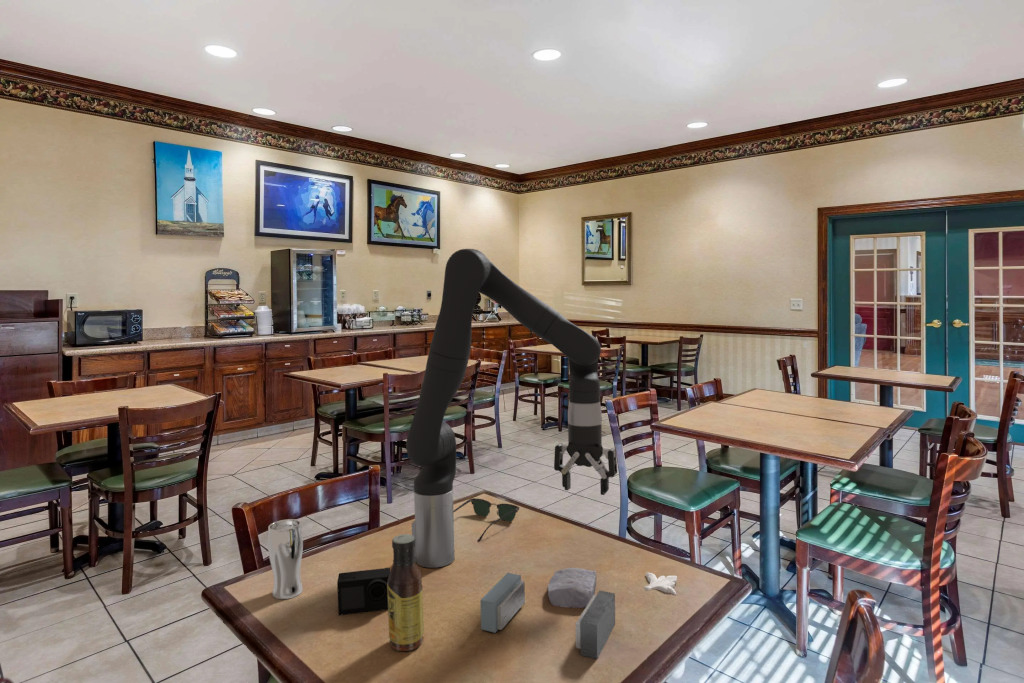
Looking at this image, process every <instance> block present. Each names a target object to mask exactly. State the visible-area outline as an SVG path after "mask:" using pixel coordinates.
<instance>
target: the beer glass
mask: <svg viewBox="0 0 1024 683" xmlns="http://www.w3.org/2000/svg"><path fill="white" fill-rule="evenodd" d="M303 538H304V537H303V530H302V521H301V520H299V519H295V518H294V519H292V518H288V519H281V520H276V521H274V522H272V523H270V524H269V525H268V534H267V547H268V548H267V549H268V550H267V551H268V557H269V562H270V566H271V570H272V575H273V587H272V588H273V589H272V597H273V598H274V599H276V600H289V599H293V598H296V597H297V596H299V595H301V593H303V584H302V579H301V568H302V566H301V565H302V558H303V548H304V543H303V542H304V539H303Z"/></svg>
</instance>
